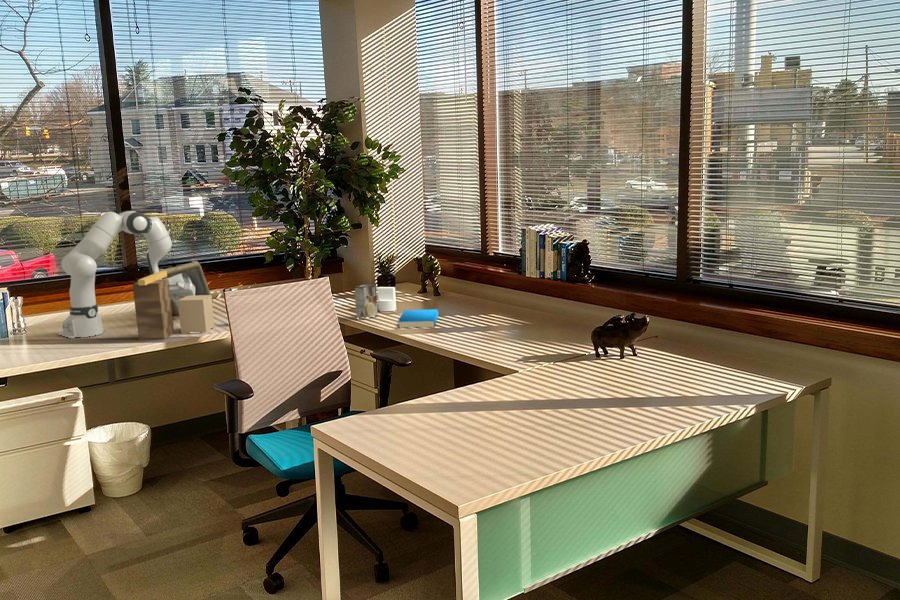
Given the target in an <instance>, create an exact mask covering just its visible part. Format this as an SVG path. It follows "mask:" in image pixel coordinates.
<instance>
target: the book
mask: <svg viewBox="0 0 900 600" xmlns="http://www.w3.org/2000/svg"><path fill="white" fill-rule="evenodd" d="M402 311H403V312H402V313H401V316H400V317H399V319H398V321H397V322H398V325H399V326H398V327H430V328H435V325H436V324H437V320H438V318H439V311H438V309H437V308H436V309H406V310H402Z"/></svg>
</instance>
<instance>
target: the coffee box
mask: <svg viewBox="0 0 900 600" xmlns="http://www.w3.org/2000/svg"><path fill="white" fill-rule="evenodd" d="M353 288H354V299H355V312H356V313H355V315H356V318H357V317H364V318H366V317H371V316H375V315H378V316H379V313H378V312H379V309H378V295H377V284H370V283H366V284H360V285H357V286H354V287H353Z"/></svg>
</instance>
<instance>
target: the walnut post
mask: <svg viewBox="0 0 900 600" xmlns="http://www.w3.org/2000/svg"><path fill="white" fill-rule="evenodd" d="M132 290H133V300H134V307H135V317H136V318H135V319H136V324H137V325H136V326H137V335H138V340H139V341H152V340H156V341H157V340H166V339H167V338H169V337H170V335H171V336H173V335H174V334H175V329H174V319H173V316H172V308H171V299H170V289H169V280H168V279H159V280H157V281H154V282H152V283H149V284H147V285H138V281H136V282H134V283H133V284H132ZM173 333H174V334H173Z"/></svg>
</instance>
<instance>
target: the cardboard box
mask: <svg viewBox="0 0 900 600" xmlns="http://www.w3.org/2000/svg"><path fill="white" fill-rule="evenodd" d="M212 300H213V296H212V294H211V295H197V296H186V297H184V298H182V299H180V300H178V307H179V315H178V318H179V323H180V333H190V332H206V331H208V330H209V329H211V328H213V327H214V326H215V317H214V309H213V307H214V306H213V304H212ZM213 329H214V328H213Z"/></svg>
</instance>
